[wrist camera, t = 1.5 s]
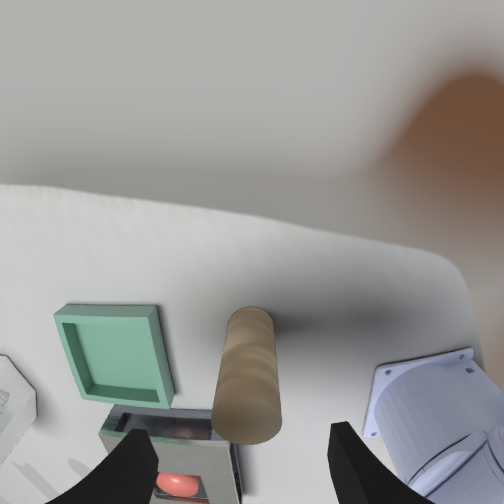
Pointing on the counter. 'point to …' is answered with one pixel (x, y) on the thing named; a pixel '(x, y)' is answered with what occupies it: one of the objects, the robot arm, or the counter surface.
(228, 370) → the dowel
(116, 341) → the tray
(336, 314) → the counter surface
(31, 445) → the counter surface
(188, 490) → the button
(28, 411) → the jar
